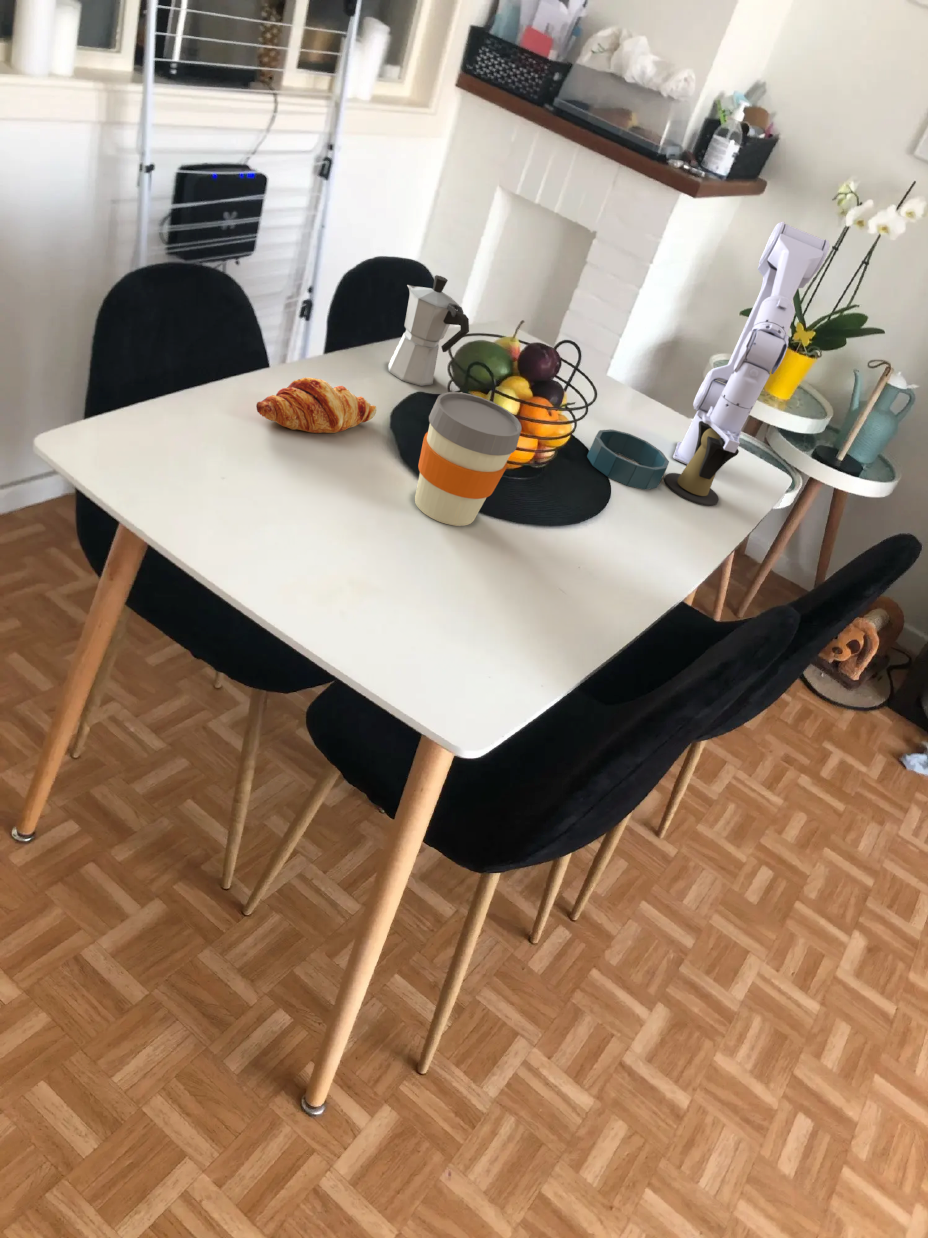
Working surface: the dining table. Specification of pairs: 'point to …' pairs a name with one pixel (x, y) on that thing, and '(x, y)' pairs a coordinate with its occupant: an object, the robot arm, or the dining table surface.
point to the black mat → (701, 500)
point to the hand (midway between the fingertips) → (701, 470)
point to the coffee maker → (426, 332)
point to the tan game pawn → (697, 469)
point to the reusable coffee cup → (463, 456)
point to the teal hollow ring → (624, 469)
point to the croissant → (316, 407)
